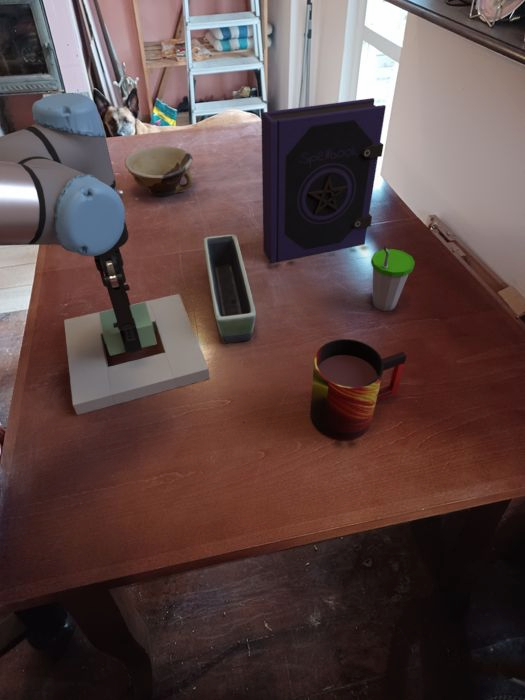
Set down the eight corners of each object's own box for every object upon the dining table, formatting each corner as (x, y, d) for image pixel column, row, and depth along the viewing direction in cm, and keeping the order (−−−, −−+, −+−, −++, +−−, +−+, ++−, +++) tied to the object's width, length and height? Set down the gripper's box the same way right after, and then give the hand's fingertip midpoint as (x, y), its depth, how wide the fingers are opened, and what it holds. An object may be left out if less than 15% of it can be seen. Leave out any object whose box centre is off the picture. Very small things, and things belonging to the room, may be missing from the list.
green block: (110, 355, 80) (103, 336, 77) (105, 331, 85) (98, 312, 82) (156, 344, 82) (152, 324, 79) (149, 321, 87) (145, 301, 84)
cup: (392, 289, 99) (407, 223, 88) (411, 312, 93) (428, 245, 83) (358, 296, 97) (368, 230, 87) (374, 320, 92) (387, 253, 81)
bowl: (119, 203, 128) (111, 168, 121) (150, 175, 140) (143, 141, 133) (180, 211, 124) (174, 176, 117) (205, 181, 136) (202, 148, 129)
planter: (258, 345, 87) (257, 314, 82) (218, 350, 86) (215, 319, 81) (238, 261, 107) (236, 233, 102) (205, 265, 106) (202, 236, 101)
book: (271, 264, 106) (271, 122, 85) (262, 249, 110) (260, 111, 89) (367, 245, 111) (389, 106, 90) (355, 231, 115) (373, 96, 94)
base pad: (77, 415, 76) (72, 405, 74) (67, 329, 91) (63, 319, 89) (210, 378, 81) (208, 368, 80) (180, 303, 96) (178, 293, 94)
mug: (396, 397, 78) (411, 343, 69) (349, 452, 70) (359, 399, 62) (346, 369, 82) (355, 316, 74) (297, 418, 75) (300, 365, 67)
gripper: (134, 246, 62) (163, 368, 78) (114, 184, 75) (142, 299, 91) (74, 258, 60) (116, 381, 76) (64, 192, 73) (102, 308, 89)
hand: (130, 336), depth 83 cm, fingers closed on green block, 6 cm apart
